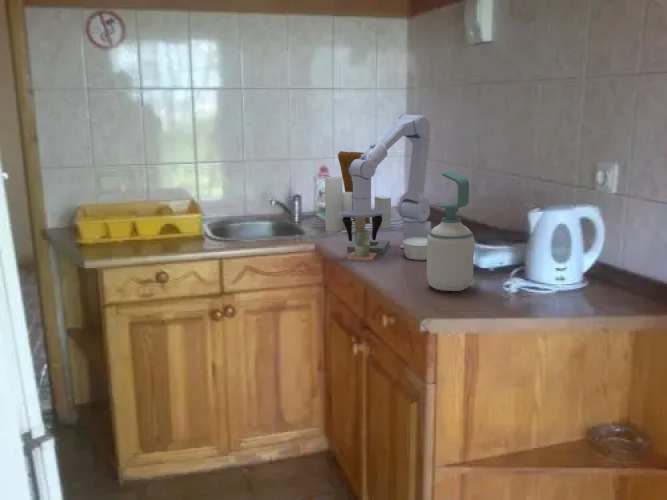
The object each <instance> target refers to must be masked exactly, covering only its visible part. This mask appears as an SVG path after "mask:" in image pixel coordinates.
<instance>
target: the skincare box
mask: <svg viewBox="0 0 667 500" xmlns="http://www.w3.org/2000/svg"><path fill="white" fill-rule="evenodd" d="M374 210H384V211H385V217H382V223H381V224H380V226H379V229H381V230H385V229H386V228H387V229H391V228H392V198H391V197H390V196H386V195H375V196H374Z"/></svg>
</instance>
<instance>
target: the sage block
mask: <svg viewBox="0 0 667 500" xmlns="http://www.w3.org/2000/svg"><path fill="white" fill-rule="evenodd" d="M354 240H355V255H356V256H357V257H369V245H370V240H371V239H370V231H369V230H368V229H367V228H365V229H362V230H355V229H354Z"/></svg>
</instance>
